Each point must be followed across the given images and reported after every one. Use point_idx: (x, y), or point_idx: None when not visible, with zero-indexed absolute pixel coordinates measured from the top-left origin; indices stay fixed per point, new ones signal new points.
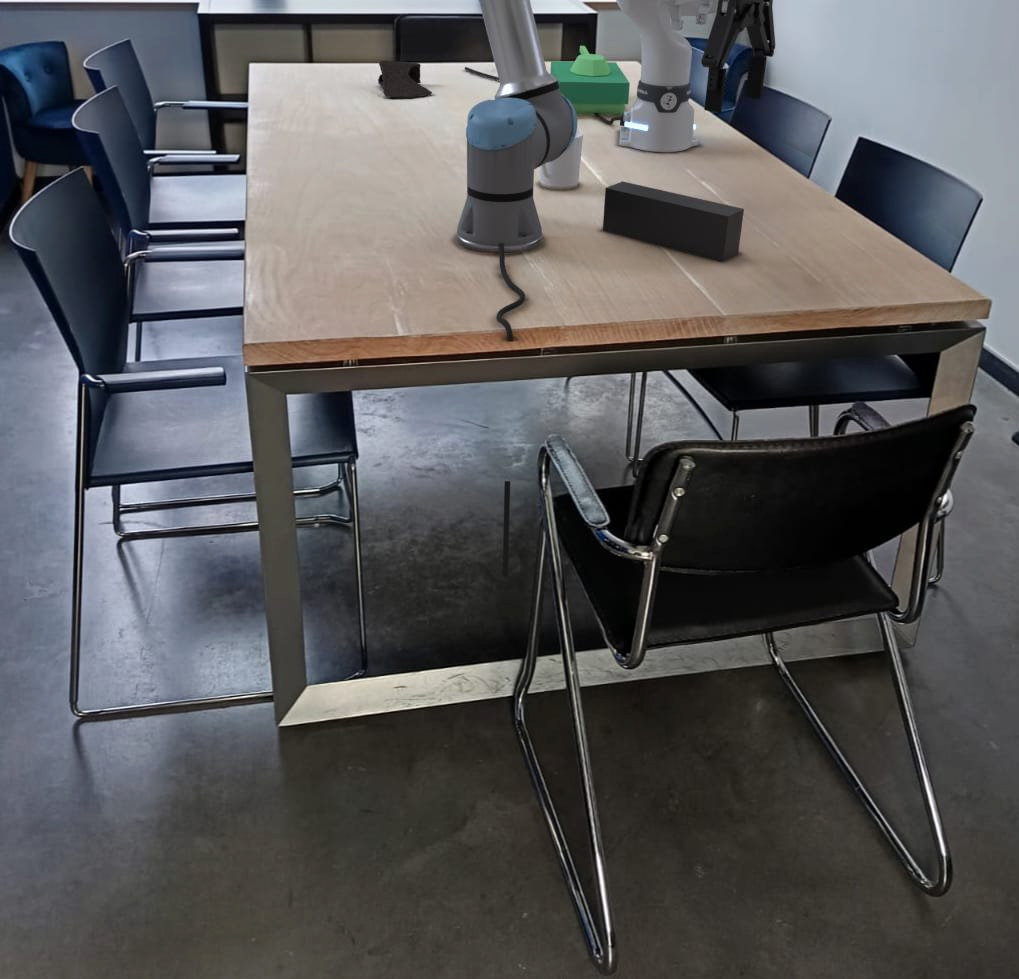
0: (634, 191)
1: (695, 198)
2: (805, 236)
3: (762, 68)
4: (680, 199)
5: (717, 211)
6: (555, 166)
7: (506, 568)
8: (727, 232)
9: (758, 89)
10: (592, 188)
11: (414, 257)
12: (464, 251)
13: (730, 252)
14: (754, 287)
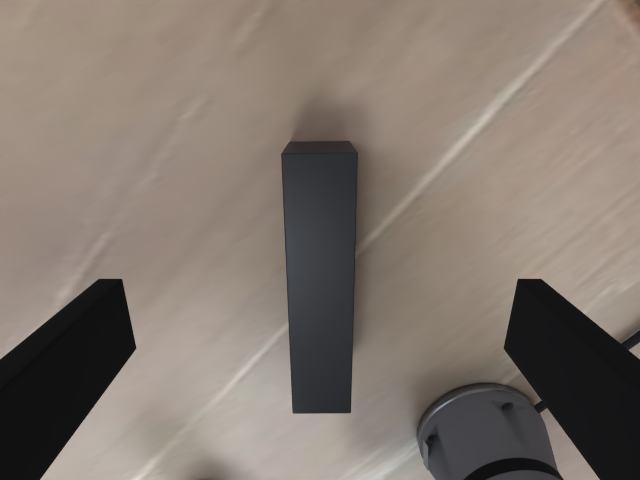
0: (335, 369)
1: (291, 268)
2: (101, 85)
3: (6, 392)
4: (319, 286)
5: (342, 188)
6: None
7: None
8: (349, 147)
9: (97, 314)
10: (183, 464)
11: None
12: None
13: (323, 142)
14: (439, 20)
